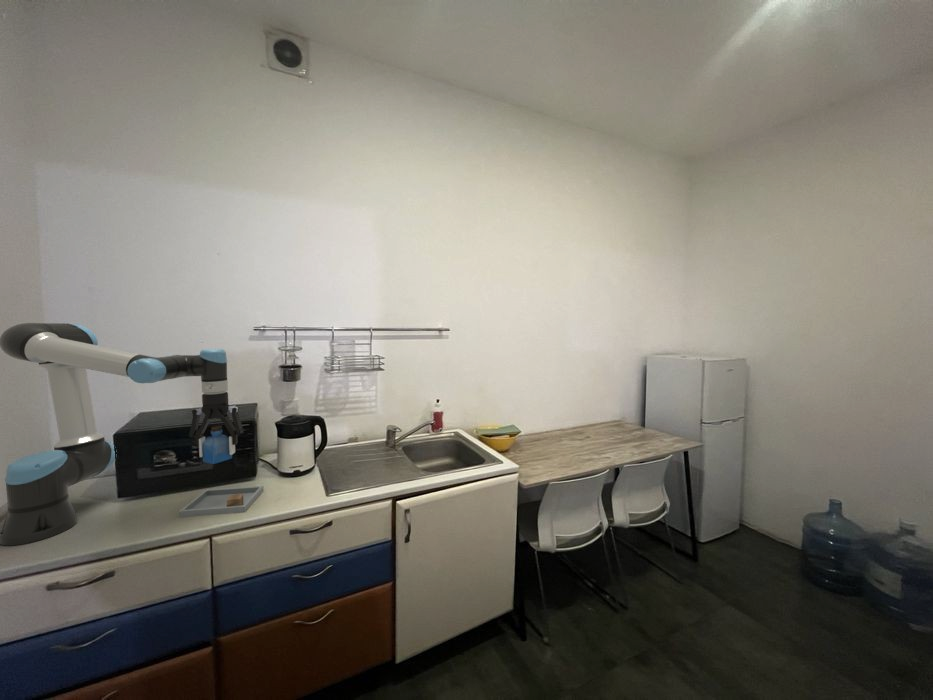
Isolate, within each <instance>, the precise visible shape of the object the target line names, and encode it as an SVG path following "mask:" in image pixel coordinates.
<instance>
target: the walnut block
mask: <svg viewBox="0 0 933 700" xmlns="http://www.w3.org/2000/svg"><path fill="white" fill-rule="evenodd" d="M242 505H243V494H235V495H230V496H229V498H228V499H227V507H228V506H242Z"/></svg>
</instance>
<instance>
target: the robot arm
mask: <svg viewBox="0 0 933 700" xmlns="http://www.w3.org/2000/svg"><path fill="white" fill-rule="evenodd" d="M98 343H99V341H98V339H97V336H96V335H95V333H94V332H93V331H92V330H91V329H90V328H88V327H86V326H84V325H80V324H74V323H73V324H72V323H67V322H66V323H65V322H64V323H62V322H61V323H58V322H57V323H56V322H55V323H54V322H51V323H49V322H48V323H45V322H44V323H43V322H41V323H40V322H24V323H20V324H15V325H13V326H10V327H9V328H7V329H6V330H4V331H3V333H1V335H0V348H1V350H2V351H3V352H4V353H5V354H6V355H7V356H10V357H12V358H14V359H17V360H20V361H26V362H31V363H37V364H38V366H39V367H41V368H43V369H45V370H46V371H47V377H48V382H49V388H50V395H51V399H52V405H53V409H54V415H55V421H56V426H57V431H58V437H59V439H58V441H57V442H56V443H55V444H54V445H53V449H52V450H46V451H40V452H38V453H33V454H32V453H31V454H29V455H26V456H23V457H20V458H19V459H16V460H14V461H13V462H11V463H10V464H8V466H7V467H6V470H5V472H6V473H5V475H6V476H5V477H4V478H5V479H4V482H5V486H6V488H5V491H6V501H7V502H6V503H7V515H6V518H5V520H4V523H3V525H2V528H1V530H0V545H1V546H18V545H24V544H30V543H33V542H38V541H42V540H44V539H47V538H50V537H54V536H56V535H58V534H61V533H63V532H65V531H67V530H69V529H70V528H72V527H73V526H75V525H76V524H77V523H78V521H79V519H78V512H76V510H74V507H73V505H72V503H71V502H70V499H69V487H71V486H74V485H76V484H78V483H80V482H83V481H86V480H87V479H90V478H94V477H96V476H99V474H101V473H104V472H105V471H106V470H108V469H109V468H111V467H112V466H113V465H114V463H115V461H116V459H115V451H114V446H115V445H114V444H113V443H112V442H110V441H109V440H106V439H105V435H104V434H102V433H99V432H98V430H97V424H96V419H95V413H94V407H93V402H92V396H91V395H92V394H91V390H90V384H89V383H90V382H89V378H88V373H87V370H91V371H95V372H101V373H106V374H110V375H111V374H112V375H116V376H121V377H127V378H129V379H131V380H132V381H133V382H135V383H138V384H154V383H157V382H161V381H167V380H173V379H179V378H185V377H200V381H201V393H203V394H202V395H201V404H202V406H201V408H199V407H197V408H195V409H192V410H191V412H192V413H191V415H192V420H191V423H190V424H191V425H190V429H189V434H188V437H189V438H194V439H195V445H196V448H198V452H199V458H203V443H204V441H205V440H206V436H204V434H205V431H206V429H207V427H208V426H209V423H210V421H211V420H214V419H218V420H219V419H220V421H222V422H223V424H224V426H225V428H226V429H227V431H228V433H229V434H230V436H228V438H229V451H230V455H232V456H233V455H234V454H235V453H236V445H237V444H238V435H241V434H242V433H244V428H243V425H242V421H241V418H240V415H239V409H240V408H239V406H230V405H229V393H228V390H229V386H228V385H229V382H228V360H227V352H226V350H224V349H223V348H221V349H220V348H218V349H217V348H215V349H212V348H211V349H210V348H209V349H202V350H200V351H199V354H194V355H193V354H192V355H189V354H184V355H183V354H182V355H181V354H173V355H167V356H166V355H165V356H160V357H159V356H158V357H156V356H150V355H145V354H140V353H134V352H131V351H127V350H121V349H115V348H113V347H112V348H111V347H105V346H101V345H99V344H98ZM228 413H231V416H232V420H231V419H230V416H229V414H228ZM202 414H203V415H204V417H203V419H202V423H201V425H200V420H201V415H202ZM232 421H233V422H232ZM233 423H234V424H233ZM199 425H200V427H199Z"/></svg>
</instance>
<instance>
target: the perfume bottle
mask: <svg viewBox="0 0 933 700" xmlns="http://www.w3.org/2000/svg"><path fill="white" fill-rule="evenodd" d="M222 427H223V426H222V425H215V426H211V428H210V429H211V430H210V435H209V436H207V437H205V441H204V443H203V457H202V462H203V463H204V462H205V463H207V464H211V465H215V464H218V463H222V462H224V461H228V460H231V459H233V454H232V455H230V451H229V436H227V435H226V434H223V433H224V432H223V429H222Z"/></svg>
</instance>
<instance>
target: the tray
mask: <svg viewBox="0 0 933 700" xmlns="http://www.w3.org/2000/svg"><path fill="white" fill-rule="evenodd" d="M262 493H264V485H257V486H242V487H239V486H238V487H227V488H226V487H225V488H211V489H205V490H203V491H202V492H201V493H199V495H197V496H196V497H194V498H193V499H192V500H191V501H190V502H188V503H187V504H186V505H185V506H184V507H183V508H181V509H179V511H178V518H184V517H185V518H187V517H198V516H199V517H200V516H210V515H212V516H213V515H225V514H238V513H246V512H247V511H248V510H249V508H250V507H251V506H252V505H253V504H254V503H255V501H256V500H257V499H258V498H259V496H261V494H262ZM235 494H243V505H242V506H228V507H227V499H228V498H229V496H230V495H235Z"/></svg>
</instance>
